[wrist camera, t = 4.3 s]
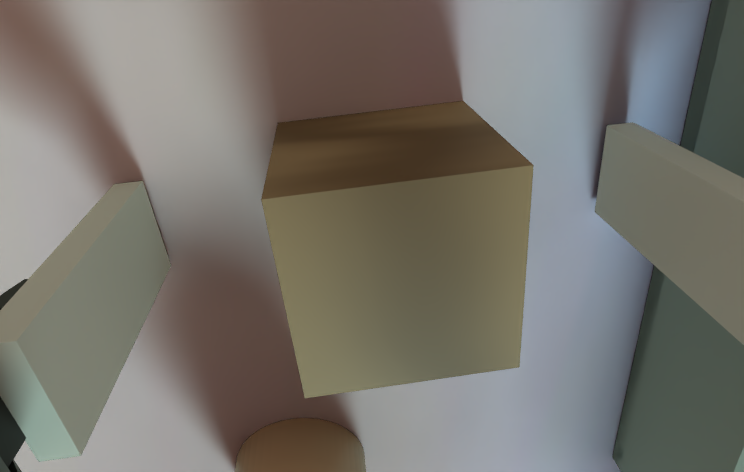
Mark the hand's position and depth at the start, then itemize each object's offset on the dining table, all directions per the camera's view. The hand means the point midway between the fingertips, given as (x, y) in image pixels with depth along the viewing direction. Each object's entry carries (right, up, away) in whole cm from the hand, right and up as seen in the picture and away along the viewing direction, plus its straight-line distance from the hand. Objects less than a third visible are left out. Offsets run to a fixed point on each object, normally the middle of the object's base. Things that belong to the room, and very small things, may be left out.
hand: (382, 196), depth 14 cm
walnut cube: (0, 0, 0) cm, 0 cm away
